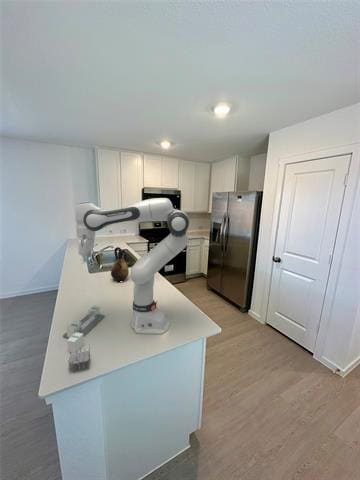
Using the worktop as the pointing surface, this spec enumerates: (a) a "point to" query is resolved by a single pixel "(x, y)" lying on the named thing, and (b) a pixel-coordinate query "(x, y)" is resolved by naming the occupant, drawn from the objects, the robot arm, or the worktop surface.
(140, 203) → the robot arm
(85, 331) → the rail plate
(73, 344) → the block
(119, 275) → the ceramic jug
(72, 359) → the building frame
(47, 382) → the worktop surface
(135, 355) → the worktop surface
